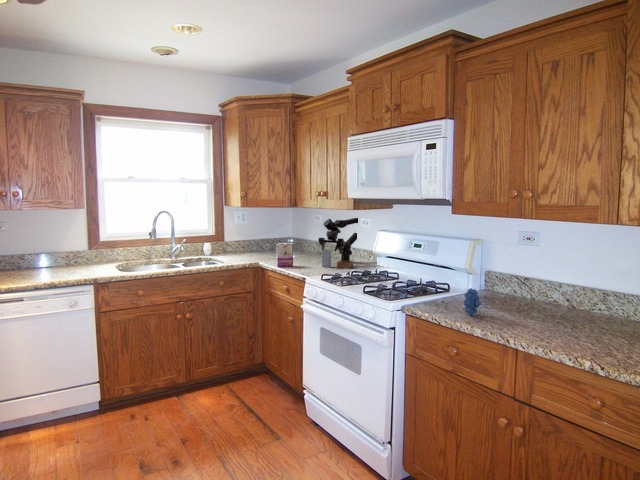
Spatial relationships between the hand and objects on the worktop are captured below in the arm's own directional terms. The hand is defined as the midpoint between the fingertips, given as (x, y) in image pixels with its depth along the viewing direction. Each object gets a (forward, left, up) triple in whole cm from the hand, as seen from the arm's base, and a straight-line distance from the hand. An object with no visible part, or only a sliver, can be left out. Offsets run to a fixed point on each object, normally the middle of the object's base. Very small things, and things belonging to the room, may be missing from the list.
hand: (328, 250), depth 316 cm
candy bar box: (+22, -22, -11) cm, 33 cm away
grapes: (+60, +128, -11) cm, 142 cm away
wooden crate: (-4, +12, -11) cm, 17 cm away
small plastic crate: (+4, +2, -11) cm, 12 cm away
